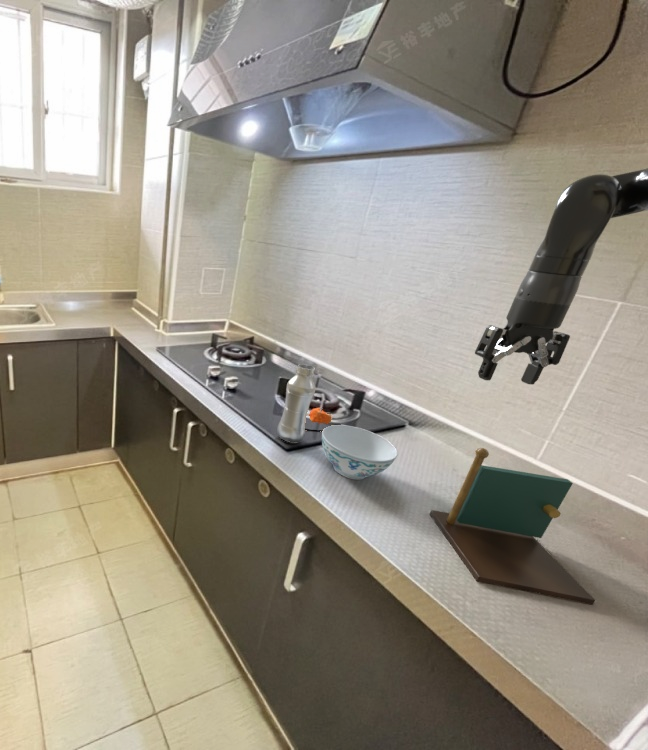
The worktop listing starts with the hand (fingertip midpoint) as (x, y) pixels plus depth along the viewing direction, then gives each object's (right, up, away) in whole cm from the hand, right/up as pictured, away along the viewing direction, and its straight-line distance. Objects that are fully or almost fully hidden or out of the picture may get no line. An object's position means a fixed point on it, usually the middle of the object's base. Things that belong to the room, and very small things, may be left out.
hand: (505, 381), depth 77 cm
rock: (-22, -12, +34) cm, 43 cm away
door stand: (-9, -30, -9) cm, 32 cm away
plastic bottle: (-35, -16, +23) cm, 44 cm away
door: (-6, -27, -6) cm, 29 cm away
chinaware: (-25, -21, +12) cm, 34 cm away
